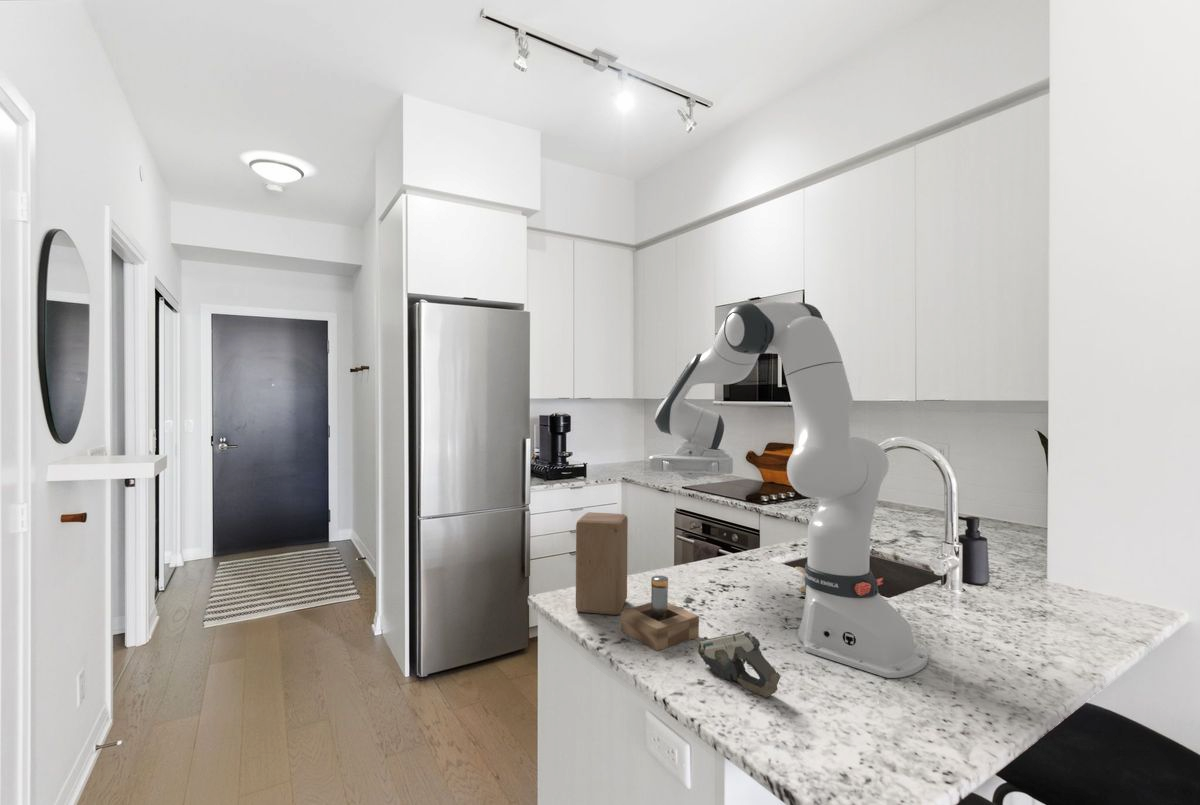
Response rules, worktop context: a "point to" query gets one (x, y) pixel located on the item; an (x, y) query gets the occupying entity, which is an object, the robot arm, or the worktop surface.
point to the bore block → (660, 626)
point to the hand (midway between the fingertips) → (690, 468)
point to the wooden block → (601, 563)
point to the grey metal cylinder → (659, 597)
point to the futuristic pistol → (739, 661)
